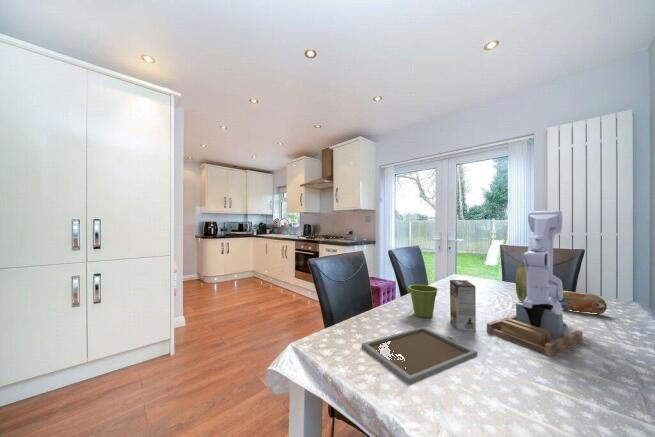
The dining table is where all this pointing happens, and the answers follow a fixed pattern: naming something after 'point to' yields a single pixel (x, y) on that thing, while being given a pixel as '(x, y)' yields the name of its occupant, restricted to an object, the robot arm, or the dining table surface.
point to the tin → (583, 302)
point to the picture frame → (420, 353)
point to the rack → (549, 347)
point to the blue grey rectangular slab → (543, 321)
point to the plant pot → (423, 299)
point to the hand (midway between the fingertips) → (538, 325)
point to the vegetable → (521, 282)
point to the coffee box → (463, 305)
